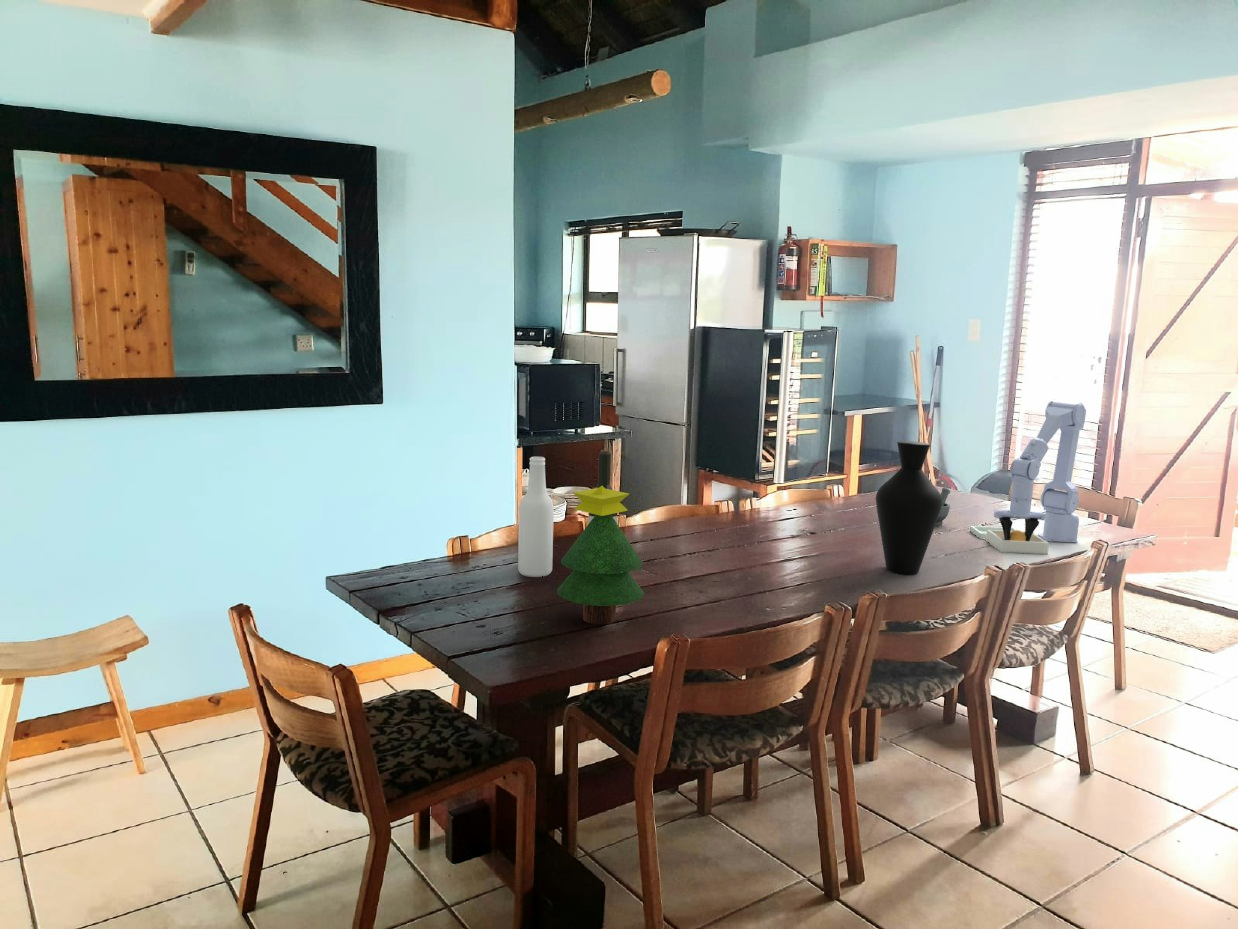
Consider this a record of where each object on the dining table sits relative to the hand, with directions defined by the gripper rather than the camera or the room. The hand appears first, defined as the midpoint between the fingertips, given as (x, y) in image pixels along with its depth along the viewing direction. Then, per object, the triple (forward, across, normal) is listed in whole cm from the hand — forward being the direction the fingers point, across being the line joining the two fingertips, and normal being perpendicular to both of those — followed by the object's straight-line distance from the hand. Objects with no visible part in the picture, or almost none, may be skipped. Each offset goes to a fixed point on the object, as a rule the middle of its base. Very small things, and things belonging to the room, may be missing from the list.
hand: (1016, 542), depth 288 cm
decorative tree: (+2, -121, -84) cm, 148 cm away
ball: (-1, 0, 0) cm, 1 cm away
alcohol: (+2, -140, -52) cm, 149 cm away
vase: (+2, -42, -32) cm, 53 cm away
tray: (+2, -1, +14) cm, 14 cm away
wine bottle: (+2, -124, -36) cm, 129 cm away
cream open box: (+2, 0, 0) cm, 2 cm away
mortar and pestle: (+2, -17, +28) cm, 32 cm away
